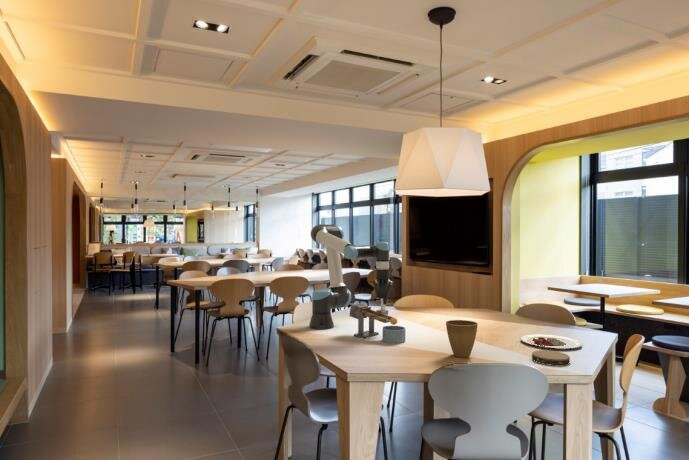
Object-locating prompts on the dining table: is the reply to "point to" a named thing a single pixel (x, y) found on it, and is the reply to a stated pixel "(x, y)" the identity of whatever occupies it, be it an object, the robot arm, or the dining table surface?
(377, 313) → the lever
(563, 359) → the brown round disc
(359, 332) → the lever stand
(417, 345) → the dining table surface
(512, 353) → the dining table surface
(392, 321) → the ball
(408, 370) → the dining table surface
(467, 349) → the plant pot
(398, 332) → the cup
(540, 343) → the plated food
